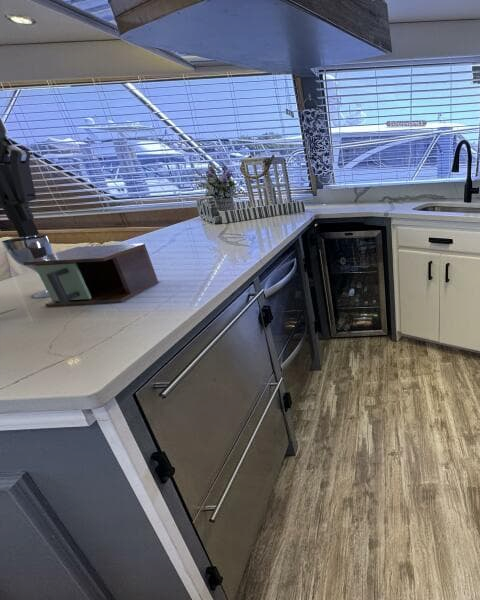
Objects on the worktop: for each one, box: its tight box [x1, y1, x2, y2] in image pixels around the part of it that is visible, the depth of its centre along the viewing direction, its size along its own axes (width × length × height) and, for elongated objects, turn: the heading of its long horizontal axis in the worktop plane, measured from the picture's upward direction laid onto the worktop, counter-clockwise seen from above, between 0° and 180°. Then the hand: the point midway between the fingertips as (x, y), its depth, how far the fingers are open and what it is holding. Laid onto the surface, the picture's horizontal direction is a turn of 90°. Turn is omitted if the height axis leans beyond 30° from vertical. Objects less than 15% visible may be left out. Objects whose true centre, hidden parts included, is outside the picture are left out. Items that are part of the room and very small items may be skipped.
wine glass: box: [1, 234, 54, 299], centre depth 85 cm, size 8×8×15 cm
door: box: [35, 263, 92, 303], centre depth 76 cm, size 9×5×9 cm, turn 94°
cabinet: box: [23, 243, 159, 308], centre depth 84 cm, size 18×15×11 cm
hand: (29, 235), depth 69 cm, fingers closed
